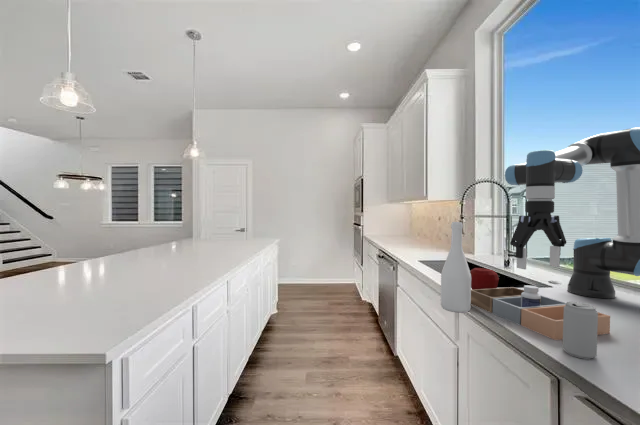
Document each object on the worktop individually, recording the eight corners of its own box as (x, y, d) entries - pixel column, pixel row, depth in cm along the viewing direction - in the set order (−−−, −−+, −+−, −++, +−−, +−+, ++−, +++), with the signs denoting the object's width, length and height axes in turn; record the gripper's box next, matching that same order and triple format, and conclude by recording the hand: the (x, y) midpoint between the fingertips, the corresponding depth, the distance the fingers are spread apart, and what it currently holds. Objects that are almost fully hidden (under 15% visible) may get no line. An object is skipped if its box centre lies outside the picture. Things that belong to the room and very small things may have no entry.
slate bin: (539, 309, 111) (539, 294, 111) (570, 319, 100) (570, 304, 100) (492, 313, 106) (492, 298, 106) (519, 325, 96) (520, 308, 95)
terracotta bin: (571, 320, 100) (571, 304, 100) (609, 333, 90) (610, 315, 90) (521, 325, 95) (521, 308, 95) (555, 340, 85) (555, 321, 85)
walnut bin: (512, 300, 121) (513, 287, 121) (538, 308, 111) (538, 294, 111) (469, 303, 116) (469, 289, 116) (491, 312, 106) (491, 298, 106)
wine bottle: (472, 315, 104) (474, 223, 103) (441, 311, 107) (442, 222, 106) (468, 306, 113) (470, 221, 112) (440, 303, 116) (441, 221, 115)
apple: (504, 299, 123) (505, 268, 122) (479, 300, 121) (480, 269, 121) (485, 291, 133) (486, 263, 133) (462, 292, 132) (462, 264, 132)
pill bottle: (543, 320, 100) (544, 289, 100) (524, 318, 101) (525, 288, 101) (535, 314, 105) (536, 285, 105) (517, 313, 106) (518, 284, 106)
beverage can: (555, 348, 80) (557, 300, 80) (579, 347, 80) (580, 300, 80) (578, 360, 73) (580, 309, 73) (604, 360, 74) (605, 308, 74)
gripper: (557, 200, 107) (556, 263, 108) (498, 200, 101) (496, 267, 101) (581, 200, 100) (579, 267, 101) (518, 199, 93) (517, 271, 94)
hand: (538, 267), depth 101 cm, fingers open, 13 cm apart
